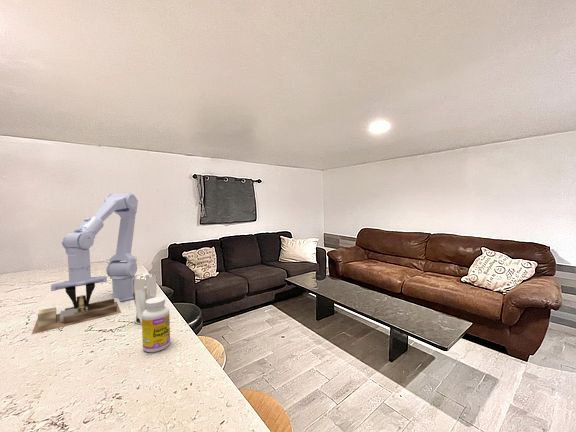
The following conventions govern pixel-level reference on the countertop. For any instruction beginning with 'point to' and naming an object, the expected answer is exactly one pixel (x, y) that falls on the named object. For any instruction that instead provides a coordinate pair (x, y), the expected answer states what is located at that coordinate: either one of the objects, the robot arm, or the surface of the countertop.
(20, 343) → the countertop surface
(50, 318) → the block
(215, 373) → the countertop surface
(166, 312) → the supplement bottle
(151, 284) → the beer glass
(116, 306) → the press board
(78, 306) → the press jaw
